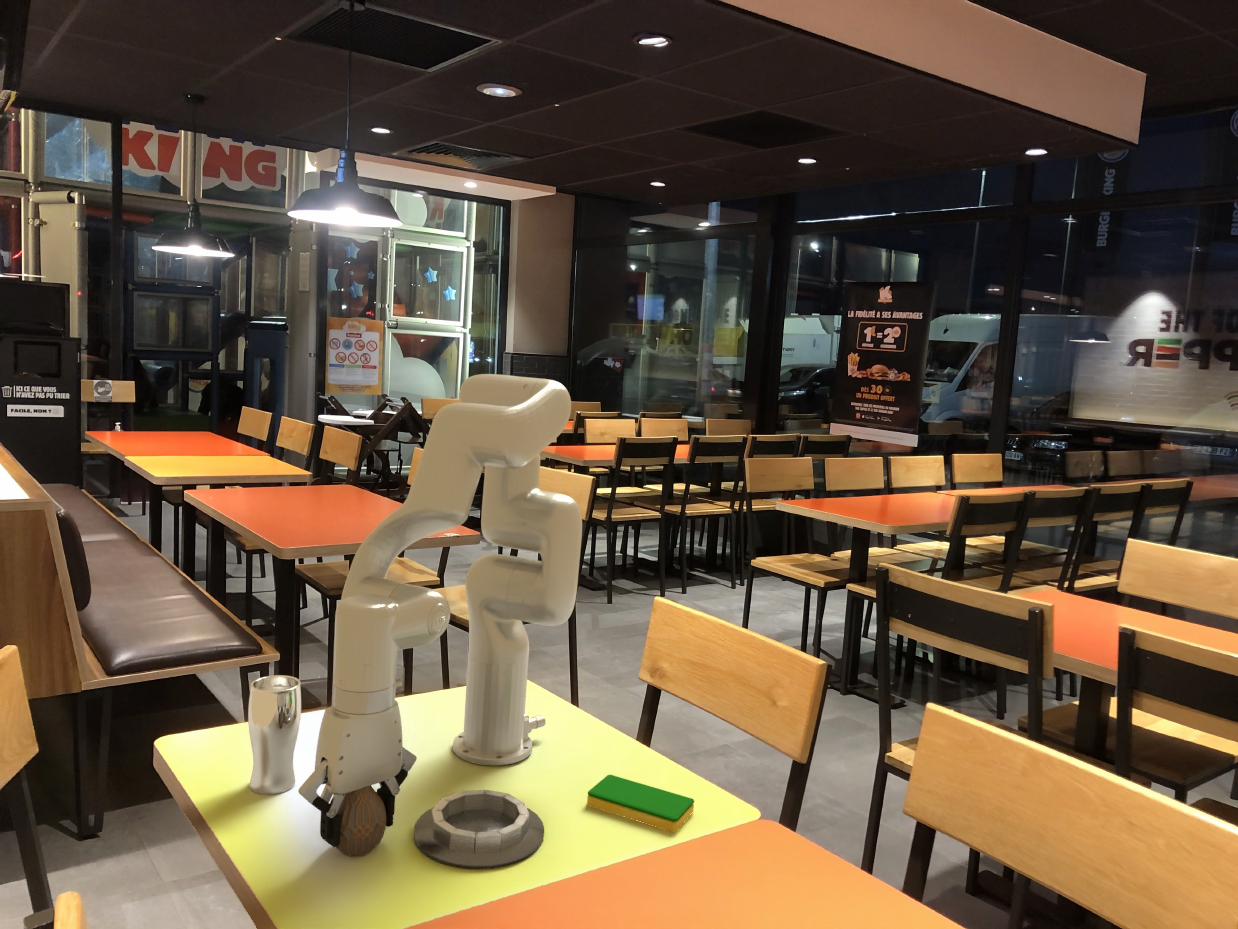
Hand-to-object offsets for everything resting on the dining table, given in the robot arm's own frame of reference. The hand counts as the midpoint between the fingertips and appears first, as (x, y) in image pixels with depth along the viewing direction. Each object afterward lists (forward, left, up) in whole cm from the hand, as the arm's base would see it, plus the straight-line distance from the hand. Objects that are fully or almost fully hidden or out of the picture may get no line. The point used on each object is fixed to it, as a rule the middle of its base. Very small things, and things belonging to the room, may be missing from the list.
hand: (357, 831), depth 116 cm
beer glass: (0, -22, -3) cm, 22 cm away
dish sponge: (-36, +16, -3) cm, 40 cm away
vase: (0, 0, -3) cm, 3 cm away
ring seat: (-14, +7, -2) cm, 16 cm away
